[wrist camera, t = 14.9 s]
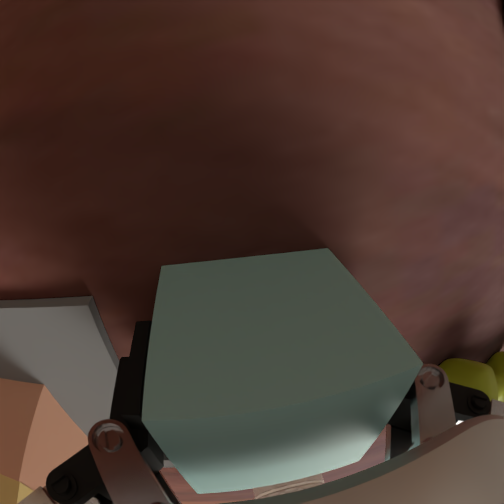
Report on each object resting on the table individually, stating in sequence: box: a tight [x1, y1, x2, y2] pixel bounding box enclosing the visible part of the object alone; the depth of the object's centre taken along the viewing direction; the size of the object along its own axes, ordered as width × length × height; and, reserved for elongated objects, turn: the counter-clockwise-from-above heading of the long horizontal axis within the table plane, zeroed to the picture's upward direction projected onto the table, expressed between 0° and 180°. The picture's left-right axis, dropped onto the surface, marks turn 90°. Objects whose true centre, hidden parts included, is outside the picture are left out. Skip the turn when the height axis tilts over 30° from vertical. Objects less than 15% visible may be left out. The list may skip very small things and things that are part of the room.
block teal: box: [142, 248, 423, 494], centre depth 9 cm, size 6×6×6 cm
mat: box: [0, 296, 175, 467], centre depth 12 cm, size 16×16×1 cm
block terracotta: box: [0, 378, 88, 490], centre depth 9 cm, size 6×6×6 cm
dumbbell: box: [439, 351, 504, 402], centre depth 17 cm, size 16×8×7 cm, turn 70°
